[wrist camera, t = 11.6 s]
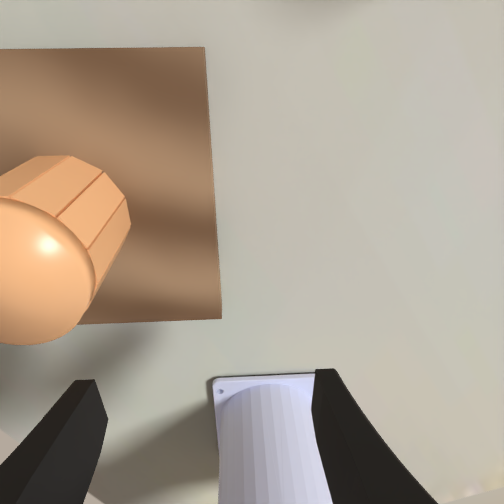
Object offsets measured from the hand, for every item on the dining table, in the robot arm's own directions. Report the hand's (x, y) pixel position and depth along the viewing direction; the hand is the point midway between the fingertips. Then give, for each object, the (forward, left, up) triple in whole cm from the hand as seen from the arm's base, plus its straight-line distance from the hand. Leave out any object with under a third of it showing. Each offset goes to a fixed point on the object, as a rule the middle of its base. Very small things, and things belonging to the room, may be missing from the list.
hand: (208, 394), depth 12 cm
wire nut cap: (+3, +7, -8) cm, 11 cm away
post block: (+3, +7, -9) cm, 12 cm away
